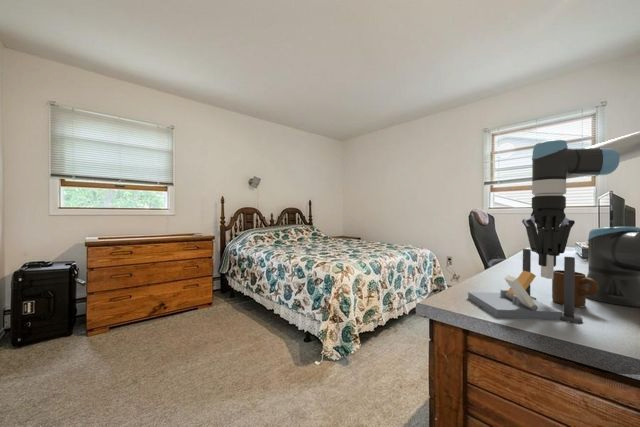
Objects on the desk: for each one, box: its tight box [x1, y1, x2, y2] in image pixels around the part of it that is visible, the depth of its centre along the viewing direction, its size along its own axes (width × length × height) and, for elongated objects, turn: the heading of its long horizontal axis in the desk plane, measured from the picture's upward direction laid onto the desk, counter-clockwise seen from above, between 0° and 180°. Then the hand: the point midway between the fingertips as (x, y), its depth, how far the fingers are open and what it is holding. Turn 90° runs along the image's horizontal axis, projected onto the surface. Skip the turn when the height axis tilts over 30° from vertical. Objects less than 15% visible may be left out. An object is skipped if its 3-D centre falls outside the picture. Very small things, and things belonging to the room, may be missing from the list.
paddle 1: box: [505, 269, 537, 300], centre depth 79 cm, size 2×4×9 cm
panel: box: [467, 289, 563, 321], centre depth 78 cm, size 16×16×4 cm
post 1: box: [522, 248, 537, 301], centre depth 86 cm, size 5×5×16 cm
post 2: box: [559, 256, 583, 324], centre depth 70 cm, size 5×5×16 cm
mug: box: [551, 269, 599, 308], centre depth 80 cm, size 12×8×9 cm, turn 3°
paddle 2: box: [503, 275, 538, 311], centre depth 71 cm, size 2×4×9 cm
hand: (546, 277), depth 78 cm, fingers closed
